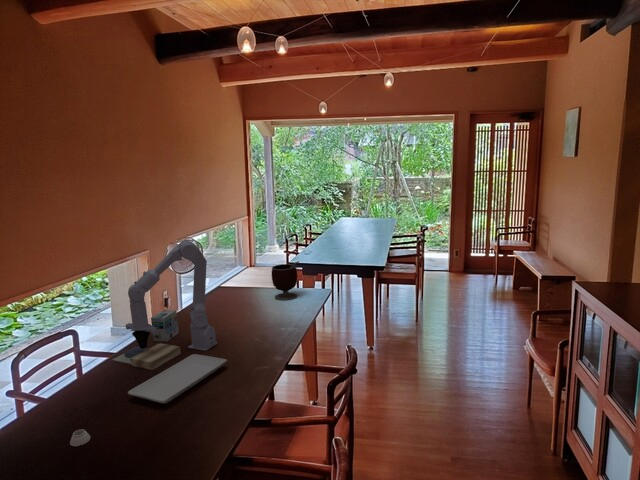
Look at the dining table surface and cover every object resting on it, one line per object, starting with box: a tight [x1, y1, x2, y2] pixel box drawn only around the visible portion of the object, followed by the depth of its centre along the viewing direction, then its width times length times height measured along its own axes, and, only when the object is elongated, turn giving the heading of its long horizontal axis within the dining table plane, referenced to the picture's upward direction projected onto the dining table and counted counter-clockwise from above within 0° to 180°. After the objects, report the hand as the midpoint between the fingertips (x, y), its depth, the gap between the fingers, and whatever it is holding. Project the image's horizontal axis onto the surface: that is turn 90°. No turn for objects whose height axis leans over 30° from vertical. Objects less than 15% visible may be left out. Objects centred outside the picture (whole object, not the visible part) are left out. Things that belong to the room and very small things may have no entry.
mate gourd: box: [271, 260, 300, 302], centre depth 247 cm, size 16×14×20 cm
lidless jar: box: [69, 428, 91, 447], centre depth 126 cm, size 5×3×5 cm
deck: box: [130, 342, 182, 371], centre depth 177 cm, size 11×15×3 cm
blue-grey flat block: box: [123, 346, 149, 358], centre depth 182 cm, size 8×6×2 cm
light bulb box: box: [150, 309, 180, 342], centre depth 200 cm, size 11×7×11 cm, turn 168°
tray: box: [127, 353, 228, 405], centre depth 157 cm, size 17×32×4 cm, turn 153°
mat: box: [111, 353, 131, 365], centre depth 182 cm, size 11×13×1 cm
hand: (143, 347), depth 180 cm, fingers closed
